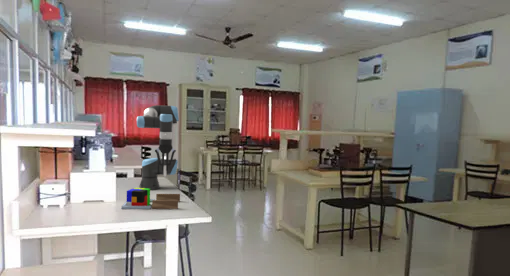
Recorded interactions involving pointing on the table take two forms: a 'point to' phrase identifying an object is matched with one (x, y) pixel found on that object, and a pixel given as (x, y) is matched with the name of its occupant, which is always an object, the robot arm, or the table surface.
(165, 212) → the table surface
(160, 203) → the channel
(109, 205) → the table surface
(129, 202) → the puzzle toy
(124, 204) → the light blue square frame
